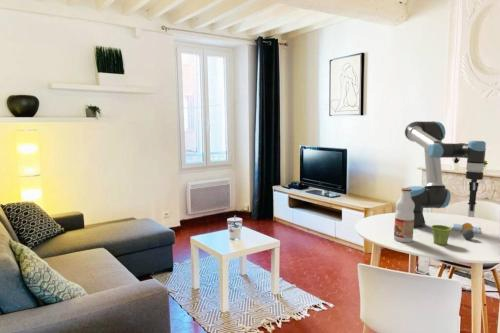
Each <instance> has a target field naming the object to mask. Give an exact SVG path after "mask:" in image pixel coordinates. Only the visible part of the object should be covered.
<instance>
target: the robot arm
mask: <svg viewBox="0 0 500 333" xmlns="http://www.w3.org/2000/svg"><path fill="white" fill-rule="evenodd" d="M404 136H405V137H406V139H408V140H409V141H410V142H413V143H414V142H415V143H416V144H418V145H419V146H420V147H422V148H423V149H424V162H425V163H424V164H425V178H426V183H425V185H424V186H421V185H413V186H407V187H406V188H410V189H411V199H412V200H413V202H414V204H415V208H414V210H413V212H414V228H416V229H417V228H420V229H421V228H424V227H426V220H425V217H424V209H445V208H446V207H448V206H449V204H450V202H451V192H450V190H449V189H447V188H446V184H444V183H443V175H442V163H441V162H442V161H441V158H445V159H446V158H447V159H449V158H453V159H454V158H455V159H458V158H459V159H467V160H466V167H465V168H466V172H465V179H467V180H470V181H469V183H468V185H469V197H468V198H469V199H468V202H467V205H468V211H467V212H468V213H467V217H470V218H475V212H476V205H477V202H476V201H477V200H476V199H477V193H478V190H479V189H478V188H479V184H480V183H479V182H478V181H481V180H483V179H484V171H485V170H484V168H485V167H486V165H485V160H486V150H487V149H486V147H487V146H486V145H487V144H486V141H484V140H469V141H468V143H462V142H459V143H452V142H451V143H444V142H443V141H442V140H444V139H445V138H446V137H445V136H446V128H445V126H444V124H443V123H441V122H440V121H434V120H433V121H417V120H416V121H413V122H410V123H409V124H408V125H407V126H406V127H405V129H404ZM414 228H413V229H414Z"/></svg>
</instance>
